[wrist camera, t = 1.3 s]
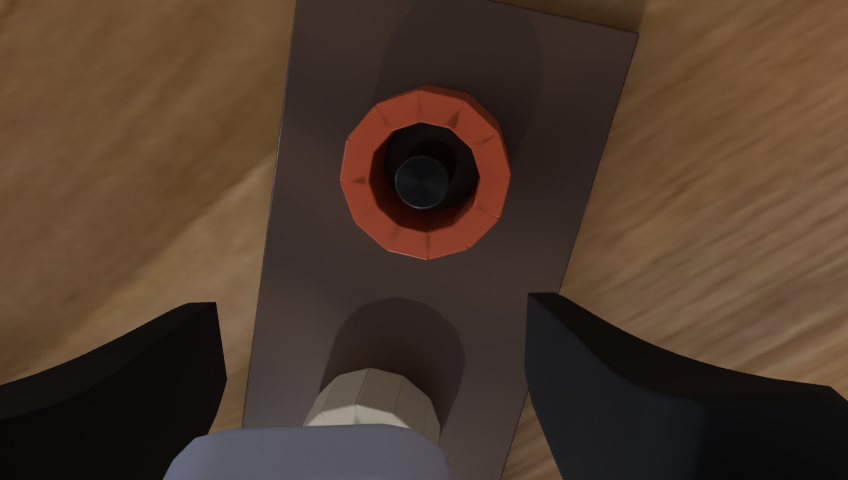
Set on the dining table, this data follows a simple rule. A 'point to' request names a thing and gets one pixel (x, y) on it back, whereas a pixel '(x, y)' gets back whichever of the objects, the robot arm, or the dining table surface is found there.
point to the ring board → (449, 292)
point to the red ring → (384, 208)
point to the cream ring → (375, 403)
